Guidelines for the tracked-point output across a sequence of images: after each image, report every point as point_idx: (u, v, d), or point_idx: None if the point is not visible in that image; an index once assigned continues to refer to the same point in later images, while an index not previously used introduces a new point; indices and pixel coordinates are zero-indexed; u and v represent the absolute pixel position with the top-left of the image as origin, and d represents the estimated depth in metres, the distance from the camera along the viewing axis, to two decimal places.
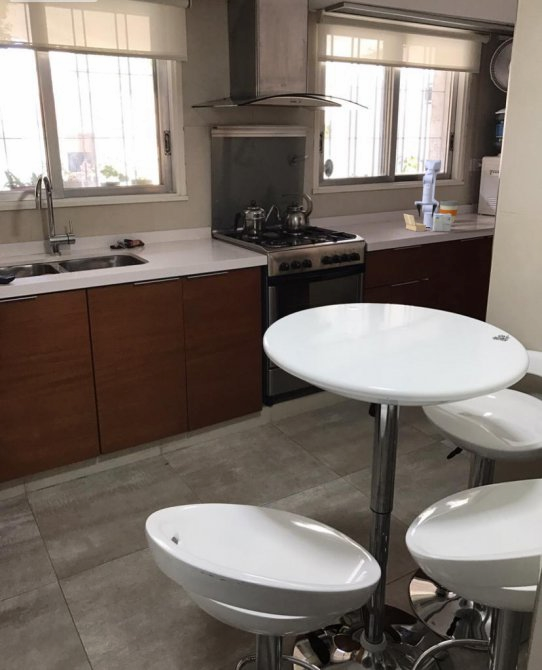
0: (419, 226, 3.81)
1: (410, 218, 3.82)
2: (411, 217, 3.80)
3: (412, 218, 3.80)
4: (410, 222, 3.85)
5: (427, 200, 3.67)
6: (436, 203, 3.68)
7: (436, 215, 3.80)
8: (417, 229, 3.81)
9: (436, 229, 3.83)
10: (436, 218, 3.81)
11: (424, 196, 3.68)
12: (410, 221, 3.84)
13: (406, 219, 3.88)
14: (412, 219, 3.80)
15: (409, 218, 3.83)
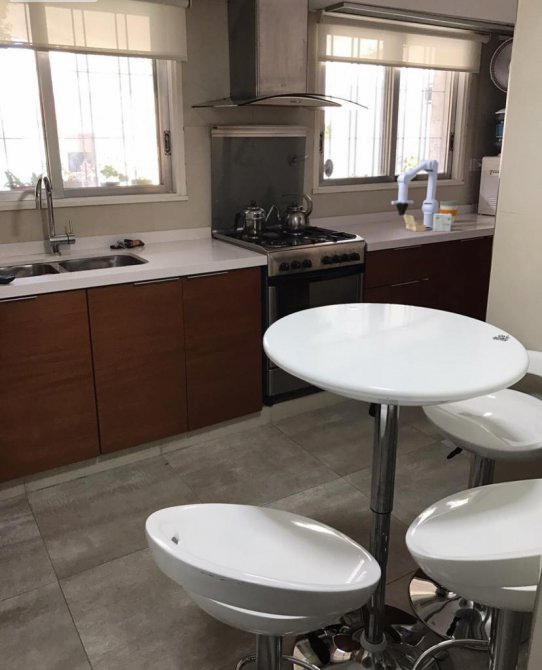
0: (419, 226, 3.81)
1: (410, 218, 3.82)
2: (410, 217, 3.80)
3: (412, 218, 3.80)
4: (410, 222, 3.85)
5: (405, 199, 3.76)
6: (411, 201, 3.80)
7: (436, 215, 3.80)
8: (417, 229, 3.81)
9: (436, 229, 3.83)
10: (436, 218, 3.81)
11: (402, 195, 3.75)
12: (410, 221, 3.84)
13: (406, 219, 3.88)
14: (412, 219, 3.80)
15: (409, 218, 3.83)
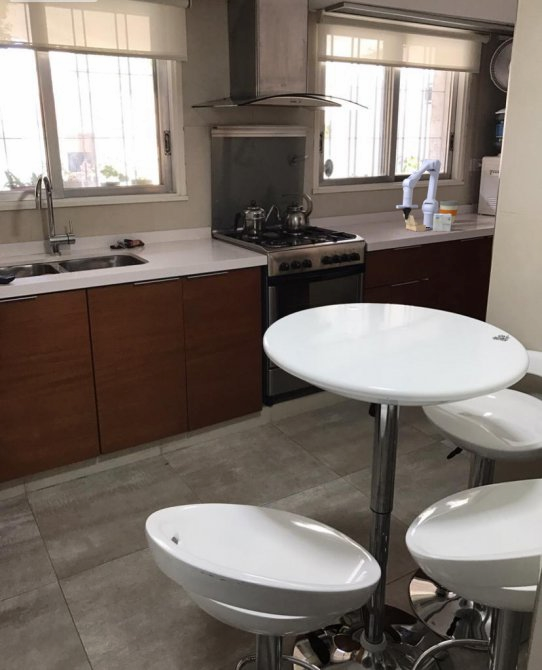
0: (419, 226, 3.81)
1: (410, 218, 3.82)
2: (411, 217, 3.80)
3: (412, 218, 3.80)
4: (410, 222, 3.85)
5: (410, 203, 3.78)
6: (416, 206, 3.82)
7: (436, 215, 3.80)
8: (417, 229, 3.81)
9: (436, 229, 3.83)
10: (436, 218, 3.81)
11: (407, 200, 3.77)
12: (410, 221, 3.84)
13: None
14: (412, 219, 3.80)
15: (409, 218, 3.83)
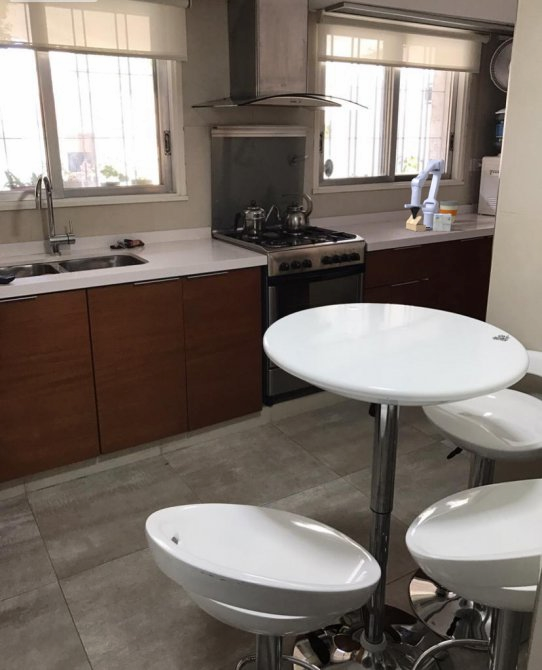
0: (419, 226, 3.81)
1: (417, 218, 3.83)
2: (418, 217, 3.82)
3: (418, 218, 3.81)
4: (412, 221, 3.85)
5: (418, 203, 3.80)
6: (424, 205, 3.83)
7: (436, 215, 3.80)
8: (417, 229, 3.81)
9: (436, 229, 3.83)
10: (436, 218, 3.81)
11: (415, 199, 3.79)
12: (413, 221, 3.85)
13: (410, 219, 3.89)
14: (417, 219, 3.81)
15: (415, 218, 3.85)
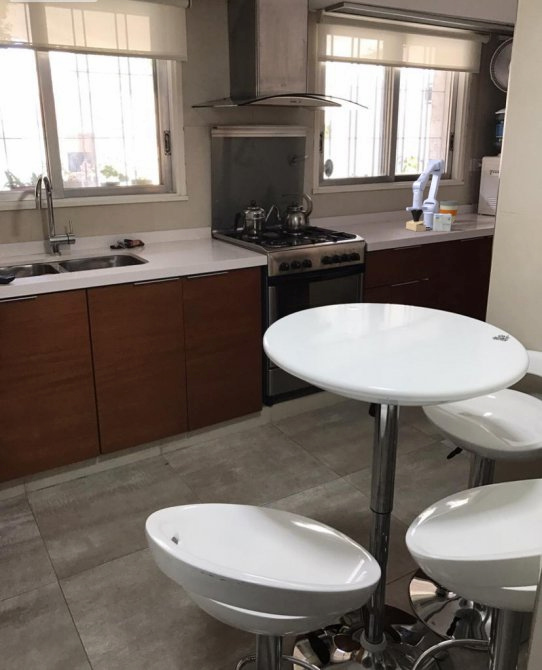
0: (419, 226, 3.81)
1: (419, 221, 3.84)
2: (421, 221, 3.83)
3: (421, 222, 3.82)
4: (413, 222, 3.85)
5: (420, 205, 3.81)
6: (425, 208, 3.84)
7: (436, 215, 3.80)
8: (417, 229, 3.81)
9: (436, 229, 3.83)
10: (436, 218, 3.81)
11: (417, 202, 3.80)
12: (414, 222, 3.85)
13: (412, 221, 3.90)
14: (420, 222, 3.82)
15: None
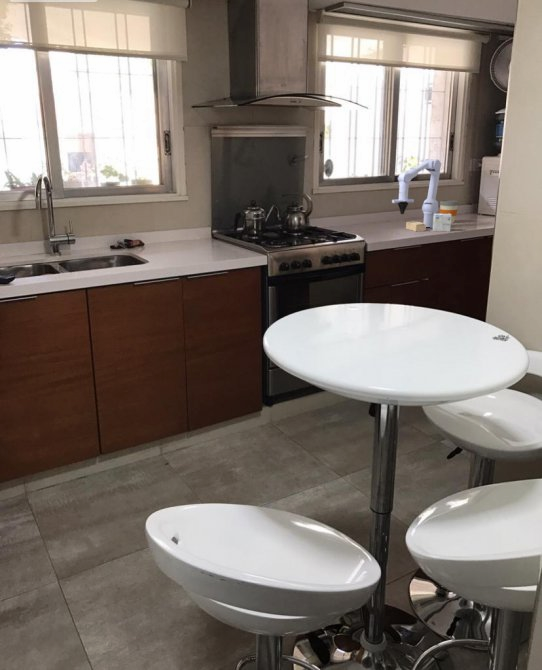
0: (419, 226, 3.81)
1: (419, 223, 3.84)
2: (421, 223, 3.84)
3: (421, 223, 3.83)
4: (413, 223, 3.85)
5: (405, 198, 3.79)
6: (412, 200, 3.83)
7: (436, 215, 3.80)
8: (417, 229, 3.81)
9: (436, 229, 3.83)
10: (436, 218, 3.81)
11: (402, 194, 3.78)
12: (414, 223, 3.85)
13: (412, 222, 3.90)
14: (420, 223, 3.83)
15: (417, 222, 3.86)
